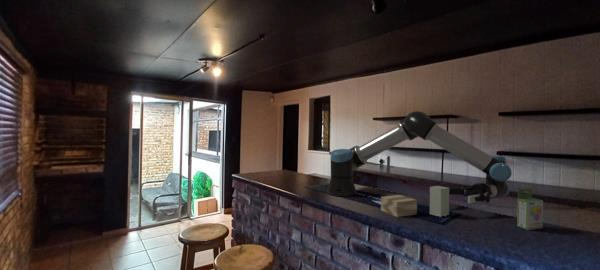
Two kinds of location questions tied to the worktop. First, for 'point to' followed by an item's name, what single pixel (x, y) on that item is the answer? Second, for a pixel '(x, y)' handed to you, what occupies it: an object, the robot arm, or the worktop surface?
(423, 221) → the worktop surface
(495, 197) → the robot arm
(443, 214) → the sage block
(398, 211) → the birch block
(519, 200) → the ink box
